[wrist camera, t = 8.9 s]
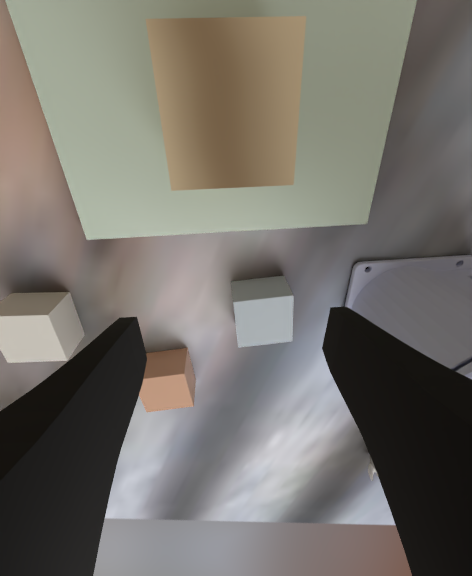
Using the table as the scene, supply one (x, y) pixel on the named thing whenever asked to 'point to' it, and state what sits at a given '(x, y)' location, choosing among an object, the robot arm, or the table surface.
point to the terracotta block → (168, 380)
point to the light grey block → (39, 327)
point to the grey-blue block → (263, 311)
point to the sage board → (147, 124)
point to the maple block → (228, 98)
